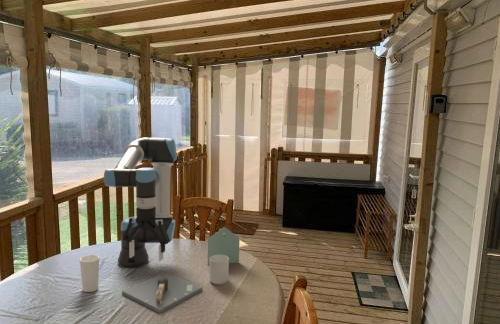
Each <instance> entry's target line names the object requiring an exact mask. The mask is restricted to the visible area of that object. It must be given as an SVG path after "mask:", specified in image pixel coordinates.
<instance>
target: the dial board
mask: <svg viewBox="0 0 500 324" xmlns="http://www.w3.org/2000/svg"><path fill="white" fill-rule="evenodd" d="M160 278H167V279H168V289H166V290H164V293H163V296H162V300H161V301H156V293H157V290H158V279H160ZM201 291H203V287H202V286H200V285H198V284H195V283H192V282H190V281H188V280H186V279H183V278H181V277H178V276H176V275H173V274H171V273H168V272H166V271H165V272H161V273H160V274H158V275H155V276H153V277H151V278H149V279H146V280H144V281H142V282H140V283H136V284H135V285H132V286H129V287H127V288H125V289H123V290H122V291H121V294H122V295H123V296H125V297H127V298H128V299H131V300H133V301H135V302H137V303H138V304H141V305H143V306H145V307H146V308H148V309H150V310H153V311H154V312H157V313H158V314H162V313H163V312H165V311H167V310H168V309H172V308H173V307H174V306H176V305H178V304H179V303H182V302H183V301H185V300H188V299H189V298H190V297H192V296H195V295H196V294H198V293H200V292H201Z"/></svg>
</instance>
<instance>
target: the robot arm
mask: <svg viewBox="0 0 500 324" xmlns="http://www.w3.org/2000/svg"><path fill="white" fill-rule="evenodd" d="M123 152H124V153H123V156H121V158H120V160H119V161H118V163H117V164H116V165H115V167H114V168H107V169H105V170H104V173H103V183H104V185H105V187H113V188H135V200H136V201H135V205H136V208H135V210H136V211H135V213H136V215H135V216H130V217H127V218H125V219H123V220H122V221H121V224H120V243H121V245H120V246H121V249H120V251H119V254H118V255H119V256H118V258H117V264H118V266H119V267H122V268H126V269H131V268H139V267H143V266H145V265H146V264H148V263H149V262H150V261H149V260H150V258H149V255H148V254H149V253H148V251H147V248H146V244H158V262H161V261H163V259H164V253H165V251H166V245H168V244H169V243H171V242H172V241H173V240H174V239H173V238H174V234H175V229H176V220H175V219H173V215H172V214H171V213H170V212H171V211H170V209H171V207H170V206H171V205H170V204H171V175H172V174H171V169H172V166H173V165H174V164H175V161H177V160H178V156H177V155H178V154H177V145H176V142H175V139H174V138H169V137H141V138H137V139H135V140H133V141H131V142H130V143H128V145H126V147H125V148H124V151H123ZM143 160H144V161H150V164H151V165H152V166H153V167H141V168H137V169H136V167H137V165H138V163H139V162H141V161H143Z"/></svg>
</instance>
